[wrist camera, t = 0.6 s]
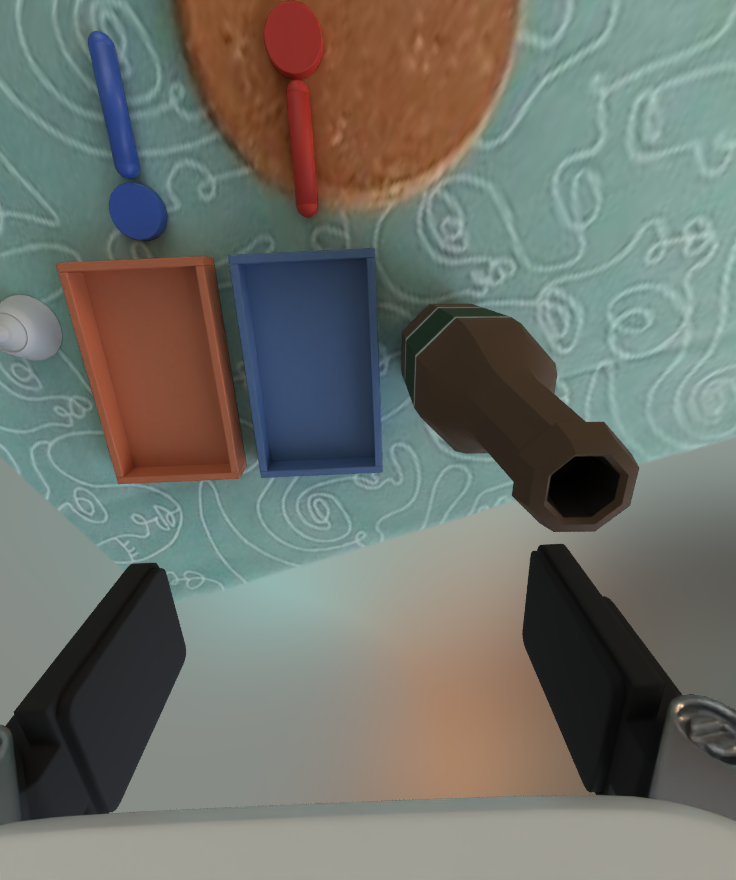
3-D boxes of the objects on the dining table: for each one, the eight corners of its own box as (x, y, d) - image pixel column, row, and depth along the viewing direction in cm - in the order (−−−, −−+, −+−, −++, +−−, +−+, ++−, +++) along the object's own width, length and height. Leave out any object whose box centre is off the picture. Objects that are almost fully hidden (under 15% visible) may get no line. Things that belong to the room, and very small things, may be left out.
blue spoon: (77, 39, 28) (62, 27, 26) (133, 36, 28) (121, 24, 26) (123, 242, 32) (112, 240, 31) (172, 239, 32) (163, 238, 31)
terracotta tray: (77, 263, 33) (54, 263, 30) (213, 257, 33) (201, 256, 30) (132, 471, 39) (118, 484, 37) (246, 466, 39) (239, 478, 37)
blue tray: (237, 255, 32) (227, 254, 30) (374, 249, 32) (374, 248, 30) (267, 465, 39) (260, 478, 36) (381, 460, 39) (382, 472, 36)
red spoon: (334, 217, 32) (333, 215, 30) (284, 219, 32) (281, 217, 30) (320, 7, 27) (318, -7, 26) (263, 10, 27) (258, -4, 26)
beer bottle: (416, 409, 37) (496, 625, 15) (381, 322, 34) (416, 424, 12) (504, 374, 36) (735, 548, 14) (476, 281, 33) (704, 311, 11)
